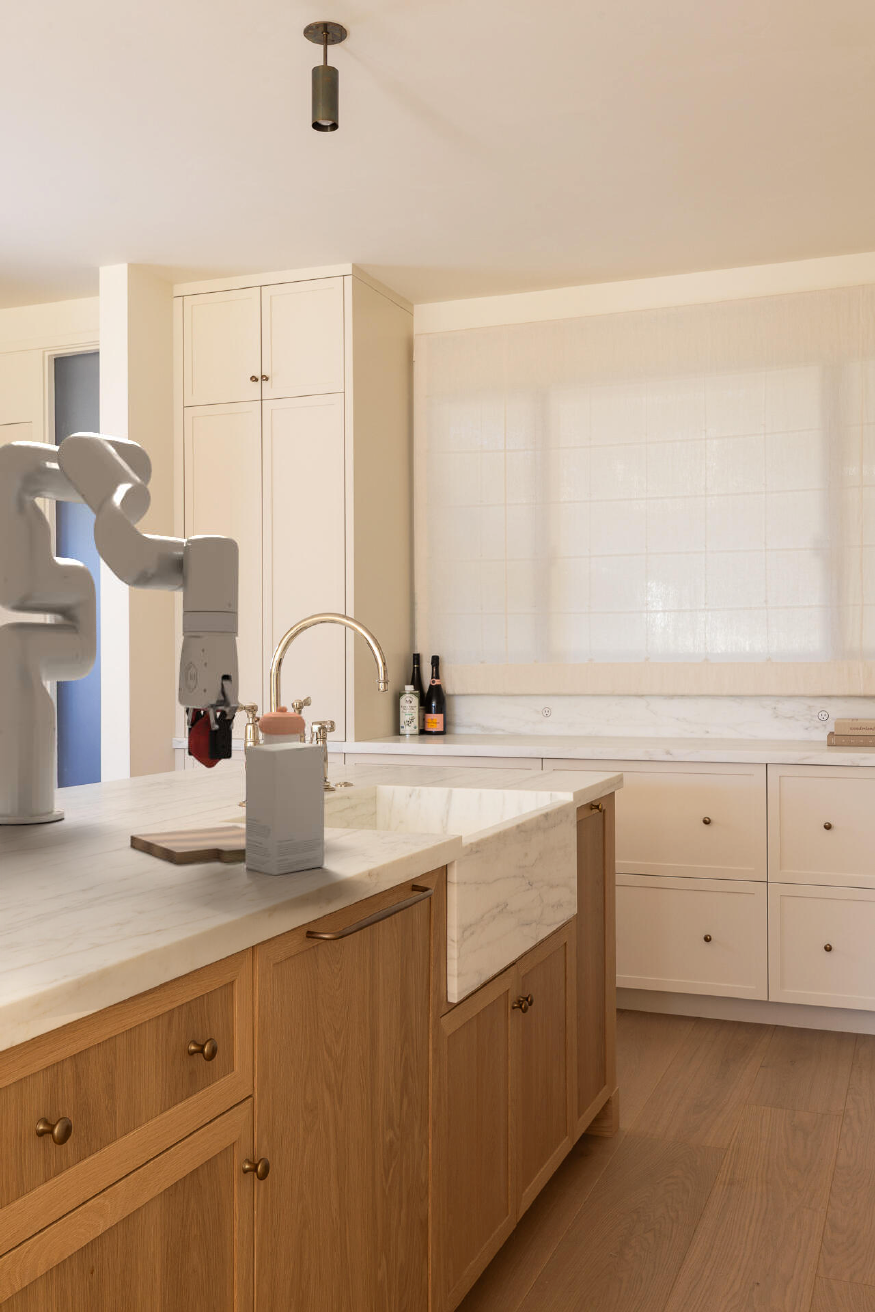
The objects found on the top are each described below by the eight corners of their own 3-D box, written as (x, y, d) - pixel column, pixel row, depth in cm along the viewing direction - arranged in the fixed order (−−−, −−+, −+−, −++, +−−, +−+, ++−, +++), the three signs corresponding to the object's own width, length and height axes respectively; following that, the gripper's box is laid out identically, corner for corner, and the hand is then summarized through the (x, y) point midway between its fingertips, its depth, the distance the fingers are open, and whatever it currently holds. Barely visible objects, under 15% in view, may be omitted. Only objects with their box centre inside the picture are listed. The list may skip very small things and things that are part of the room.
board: (130, 846, 153) (130, 835, 153) (235, 835, 162) (235, 825, 162) (185, 867, 138) (185, 855, 138) (296, 854, 148) (297, 843, 148)
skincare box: (295, 860, 143) (297, 741, 143) (327, 868, 139) (329, 744, 139) (242, 869, 137) (243, 744, 138) (273, 876, 133) (274, 748, 133)
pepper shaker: (300, 830, 168) (301, 705, 168) (309, 837, 161) (311, 707, 161) (252, 832, 166) (253, 705, 166) (260, 840, 159) (261, 707, 159)
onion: (221, 770, 148) (221, 711, 148) (181, 769, 149) (181, 710, 149) (237, 766, 153) (237, 709, 154) (198, 765, 155) (198, 709, 155)
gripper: (159, 626, 156) (158, 754, 156) (212, 624, 142) (211, 763, 142) (208, 627, 160) (207, 751, 160) (264, 625, 147) (263, 760, 147)
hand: (209, 755), depth 151 cm, fingers closed on onion, 5 cm apart
